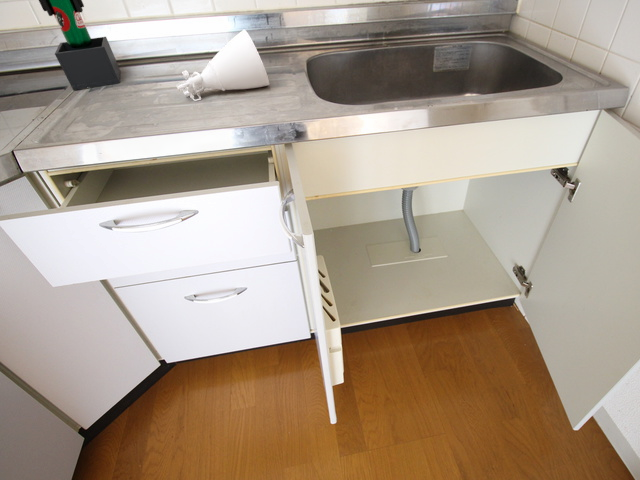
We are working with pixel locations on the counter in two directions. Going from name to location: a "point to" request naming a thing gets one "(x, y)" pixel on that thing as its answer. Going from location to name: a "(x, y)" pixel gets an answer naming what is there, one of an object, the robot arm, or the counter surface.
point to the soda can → (70, 23)
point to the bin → (89, 64)
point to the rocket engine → (229, 69)
